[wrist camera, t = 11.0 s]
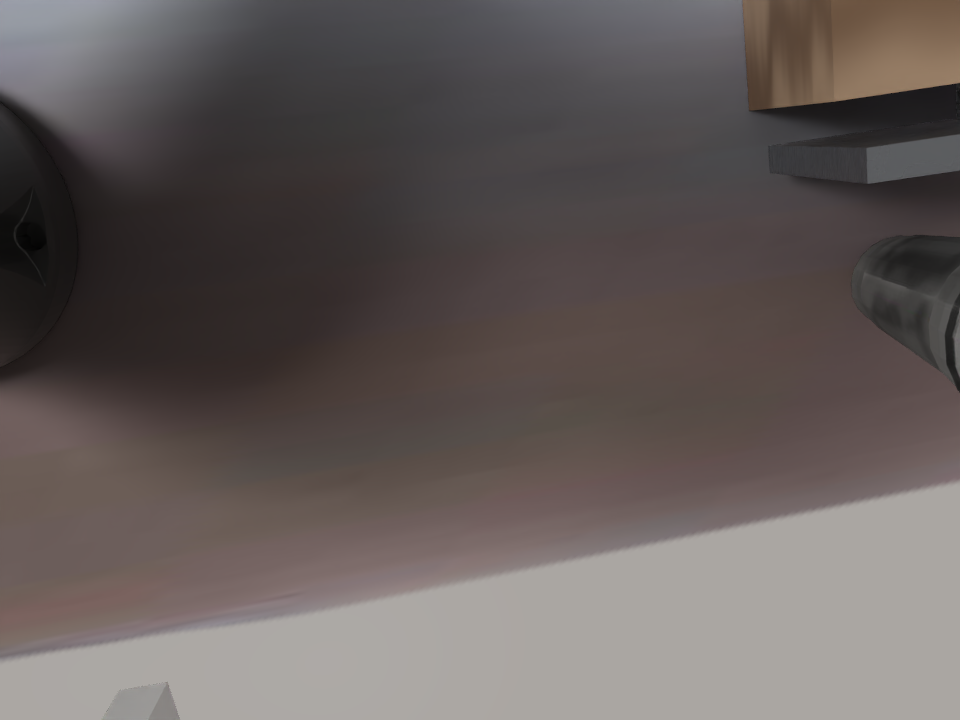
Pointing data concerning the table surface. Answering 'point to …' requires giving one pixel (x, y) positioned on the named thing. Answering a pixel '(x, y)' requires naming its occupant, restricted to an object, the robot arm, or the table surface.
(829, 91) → the brown boxy piece
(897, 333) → the beverage cup
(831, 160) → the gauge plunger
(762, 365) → the table surface
